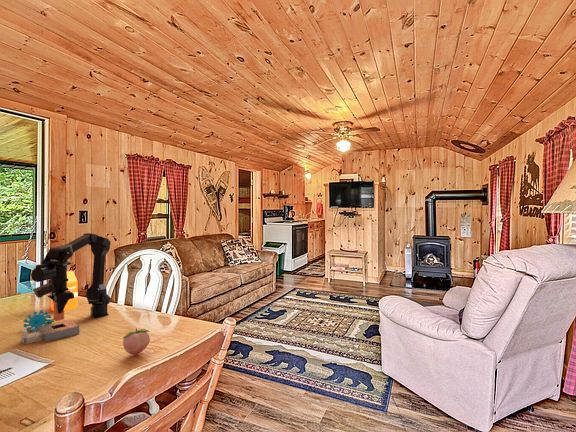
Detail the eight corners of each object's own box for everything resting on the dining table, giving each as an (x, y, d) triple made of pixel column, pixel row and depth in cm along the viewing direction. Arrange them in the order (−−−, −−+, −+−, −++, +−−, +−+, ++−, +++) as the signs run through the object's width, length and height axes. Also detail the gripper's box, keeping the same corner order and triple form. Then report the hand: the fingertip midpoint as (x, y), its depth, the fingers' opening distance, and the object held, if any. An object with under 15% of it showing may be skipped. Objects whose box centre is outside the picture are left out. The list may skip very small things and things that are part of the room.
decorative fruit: (142, 347, 125) (143, 322, 125) (153, 353, 120) (153, 327, 120) (118, 355, 118) (118, 328, 118) (127, 362, 113) (128, 334, 112)
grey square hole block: (69, 327, 144) (69, 319, 144) (79, 333, 136) (79, 325, 136) (37, 334, 135) (37, 326, 135) (45, 342, 127) (45, 334, 127)
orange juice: (51, 310, 166) (51, 272, 166) (67, 305, 175) (67, 269, 174) (62, 312, 164) (62, 274, 164) (77, 307, 173) (78, 270, 172)
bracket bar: (39, 337, 132) (39, 325, 132) (42, 339, 130) (42, 327, 130) (21, 341, 127) (21, 329, 127) (24, 344, 125) (24, 332, 125)
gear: (18, 330, 135) (28, 309, 142) (21, 336, 139) (30, 315, 145) (49, 330, 139) (57, 310, 146) (51, 336, 143) (58, 316, 149)
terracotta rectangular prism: (61, 317, 138) (61, 297, 137) (64, 319, 136) (64, 298, 136) (53, 319, 135) (53, 298, 135) (55, 321, 133) (55, 300, 133)
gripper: (29, 276, 135) (29, 312, 135) (41, 283, 123) (41, 322, 123) (60, 272, 143) (60, 306, 144) (74, 278, 132) (74, 315, 132)
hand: (58, 312), depth 135 cm, fingers closed on terracotta rectangular prism, 3 cm apart
